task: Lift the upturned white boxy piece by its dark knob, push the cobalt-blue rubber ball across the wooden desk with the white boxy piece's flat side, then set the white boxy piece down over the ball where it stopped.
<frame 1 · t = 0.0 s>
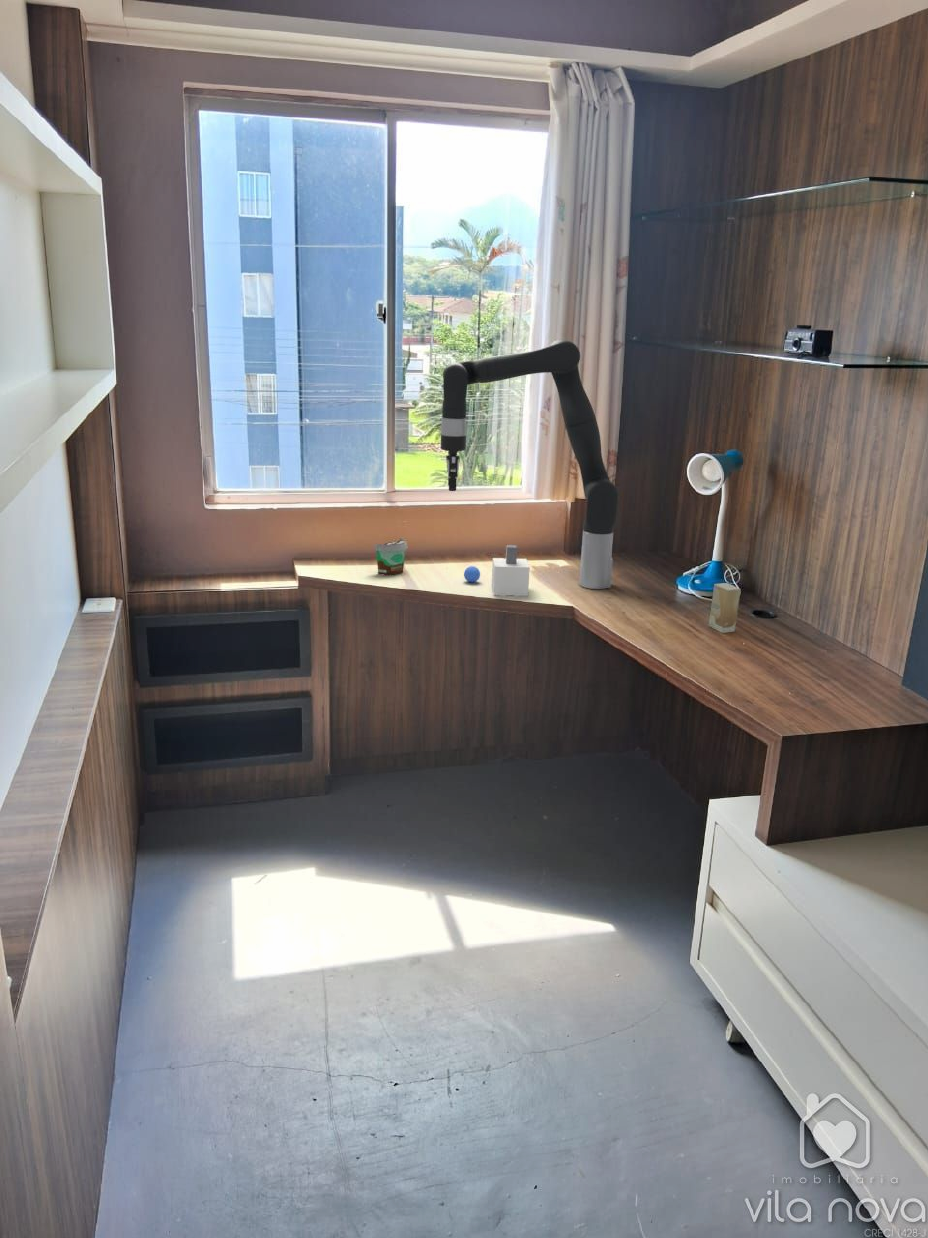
hand: (452, 488, 283), 29 cm above the table, tool pointing down, fingers open, 8 cm apart
food container: (395, 573, 301), on the table
white boxy piece: (509, 590, 285), on the table
ball: (472, 574, 293), on the table
skincare box: (721, 630, 256), on the table
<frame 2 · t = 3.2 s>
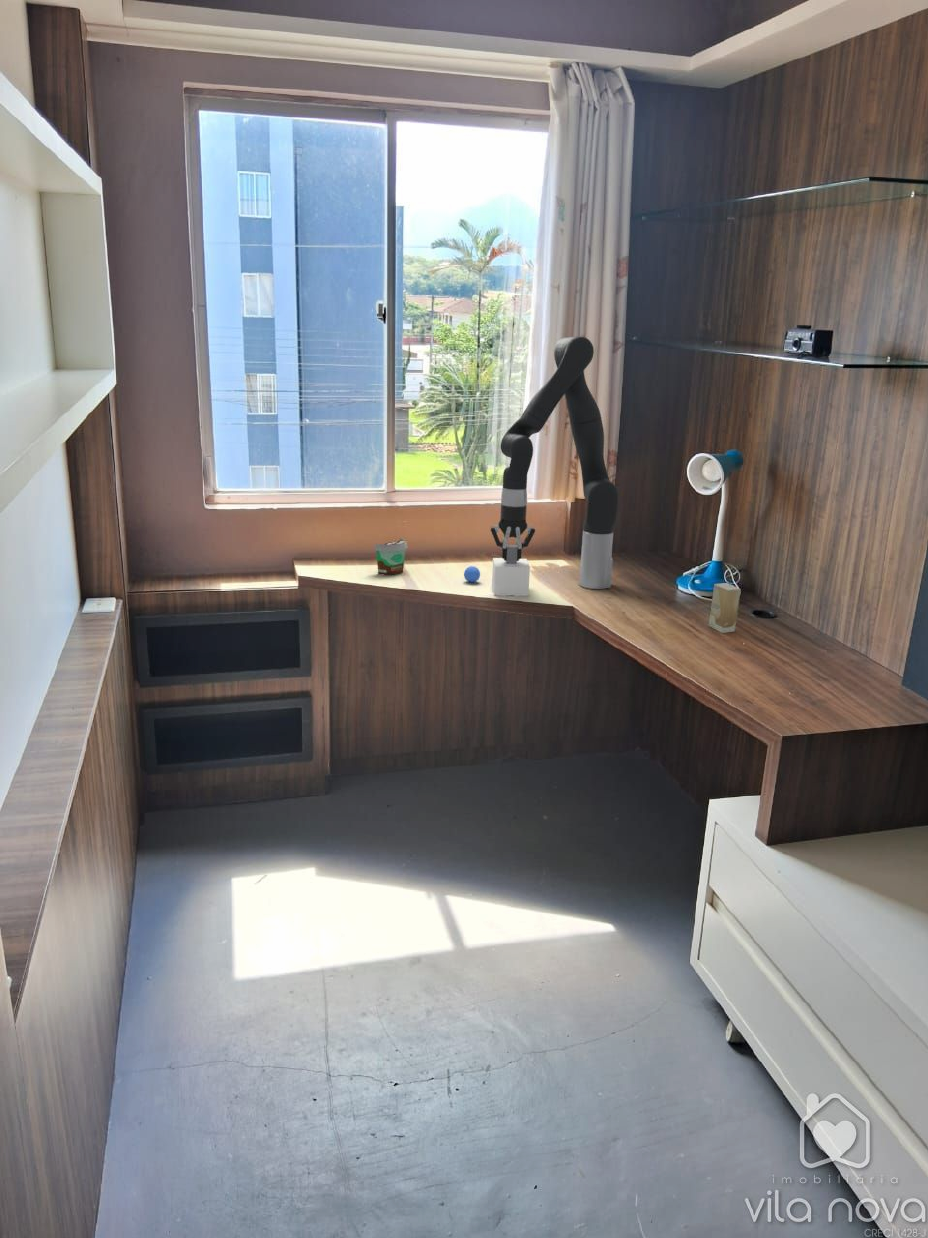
hand: (511, 559, 282), 10 cm above the table, tool pointing down, fingers closed on white boxy piece, 3 cm apart
white boxy piece: (509, 590, 285), on the table, touching gripper
everything else where it was.
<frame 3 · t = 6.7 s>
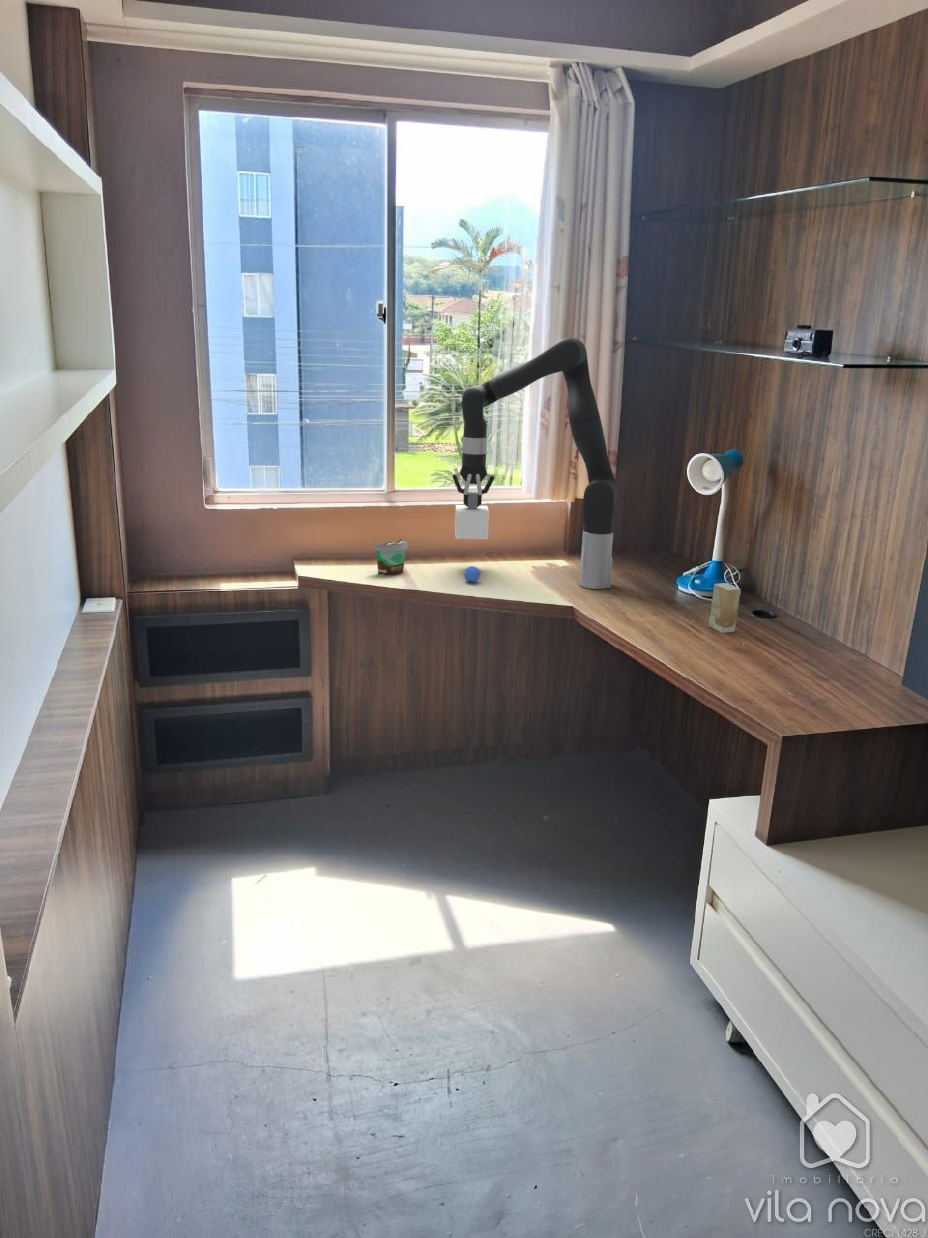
hand: (472, 505, 301), 21 cm above the table, tool pointing down, fingers closed on white boxy piece, 3 cm apart
white boxy piece: (471, 535, 304), point 11 cm above the table, touching gripper
everything else where it was.
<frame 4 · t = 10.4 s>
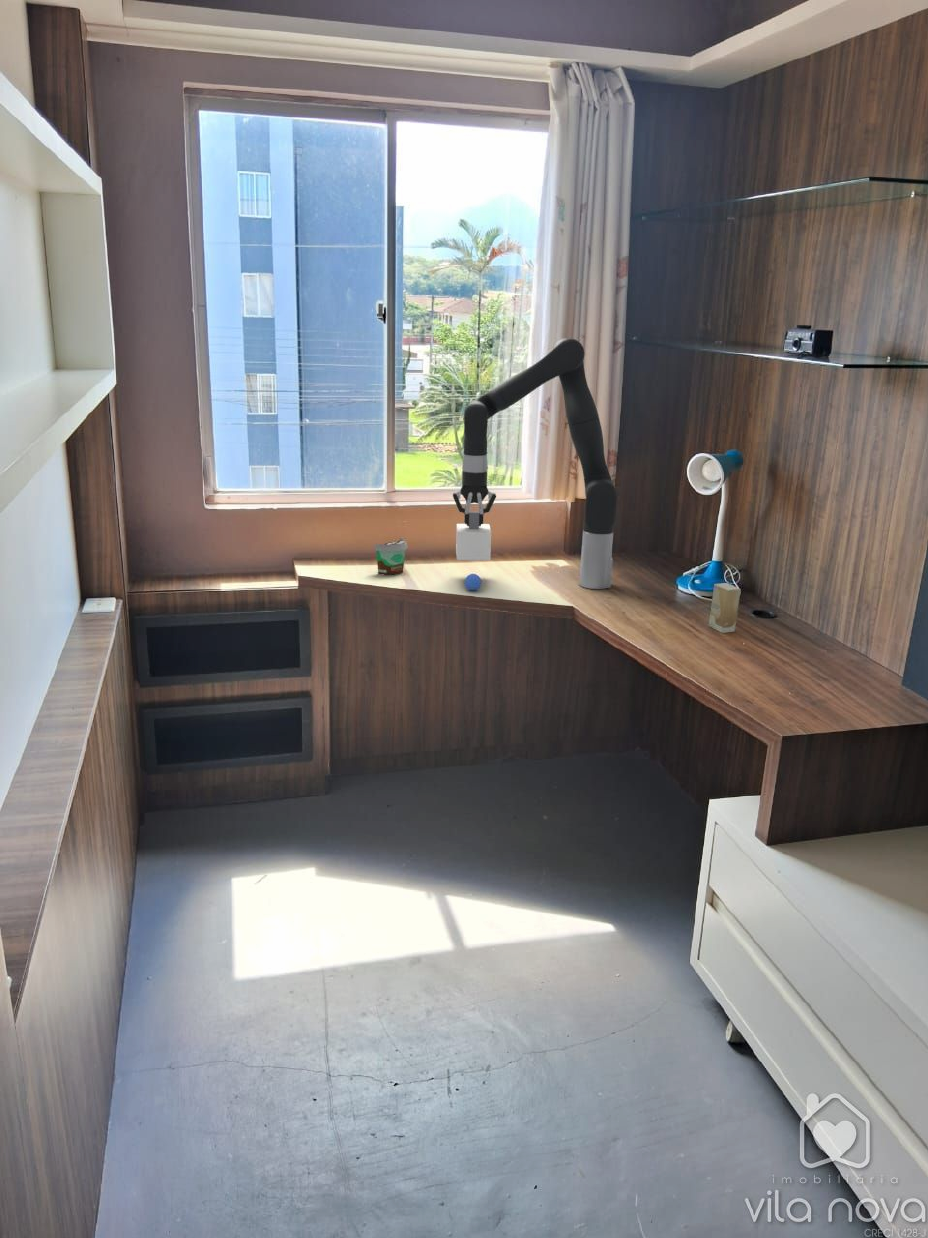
hand: (473, 525, 290), 17 cm above the table, tool pointing down, fingers closed on white boxy piece, 3 cm apart
white boxy piece: (472, 555, 293), point 8 cm above the table, touching gripper
ball: (472, 582, 284), on the table
everything else where it was.
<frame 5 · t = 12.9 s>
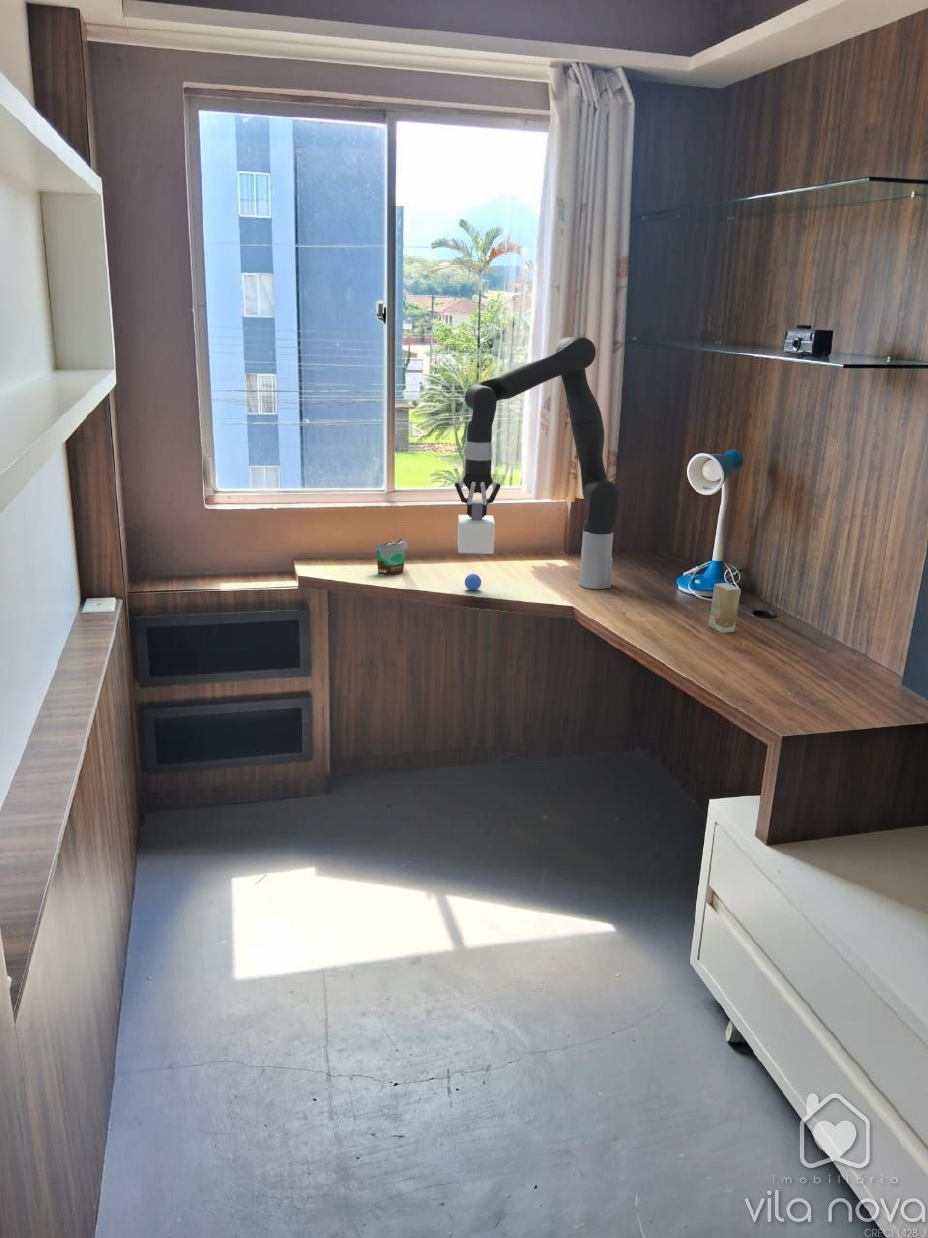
hand: (476, 516, 275), 23 cm above the table, tool pointing down, fingers closed on white boxy piece, 3 cm apart
white boxy piece: (475, 548, 278), point 13 cm above the table, touching gripper
everything else where it was.
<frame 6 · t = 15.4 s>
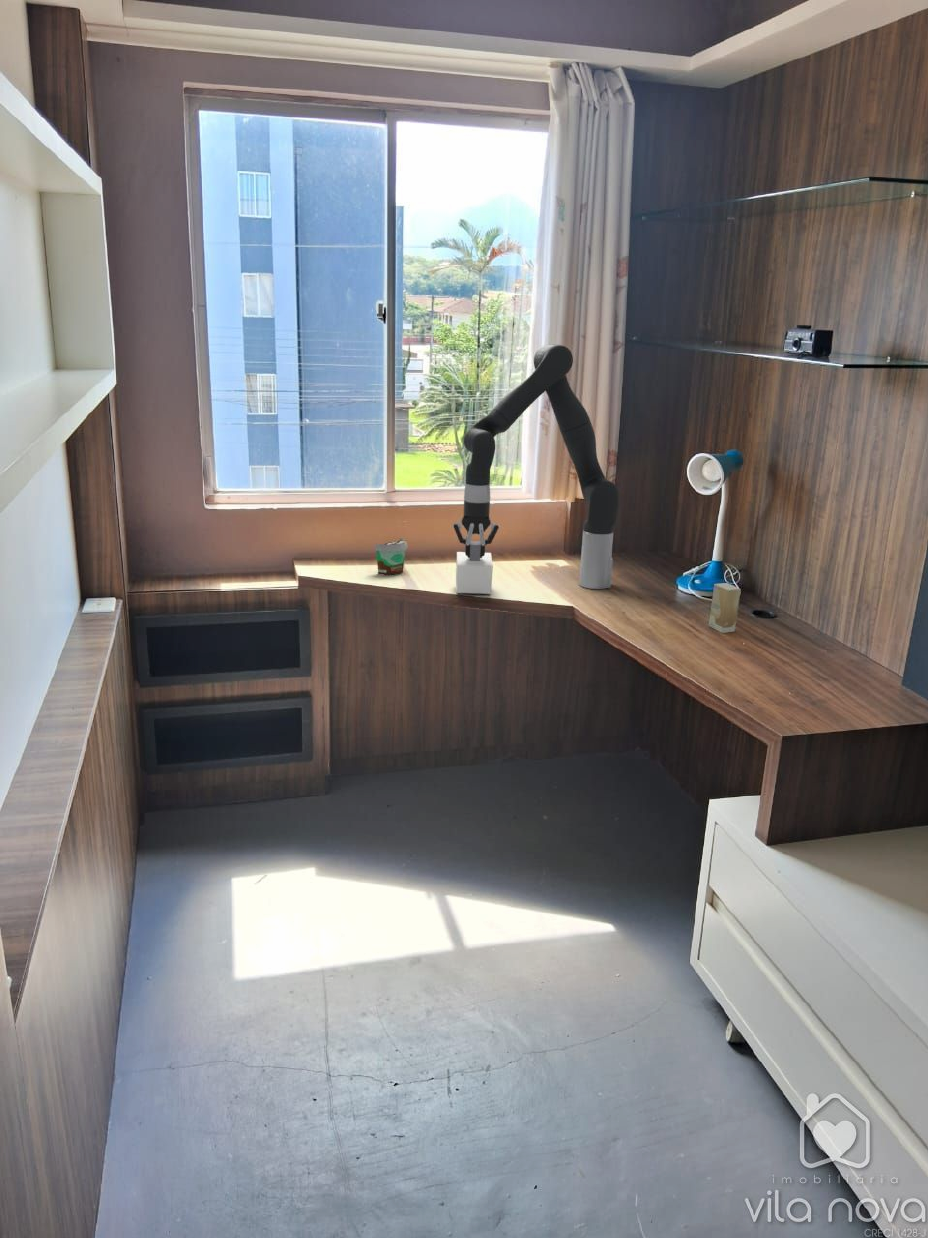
hand: (474, 557, 279), 11 cm above the table, tool pointing down, fingers closed on white boxy piece, 3 cm apart
white boxy piece: (473, 586, 284), point 2 cm above the table, tilted 9°, touching gripper
when the fingers open (10 cm above the table, at t = 15.8 s): white boxy piece stays where it is, on the table.
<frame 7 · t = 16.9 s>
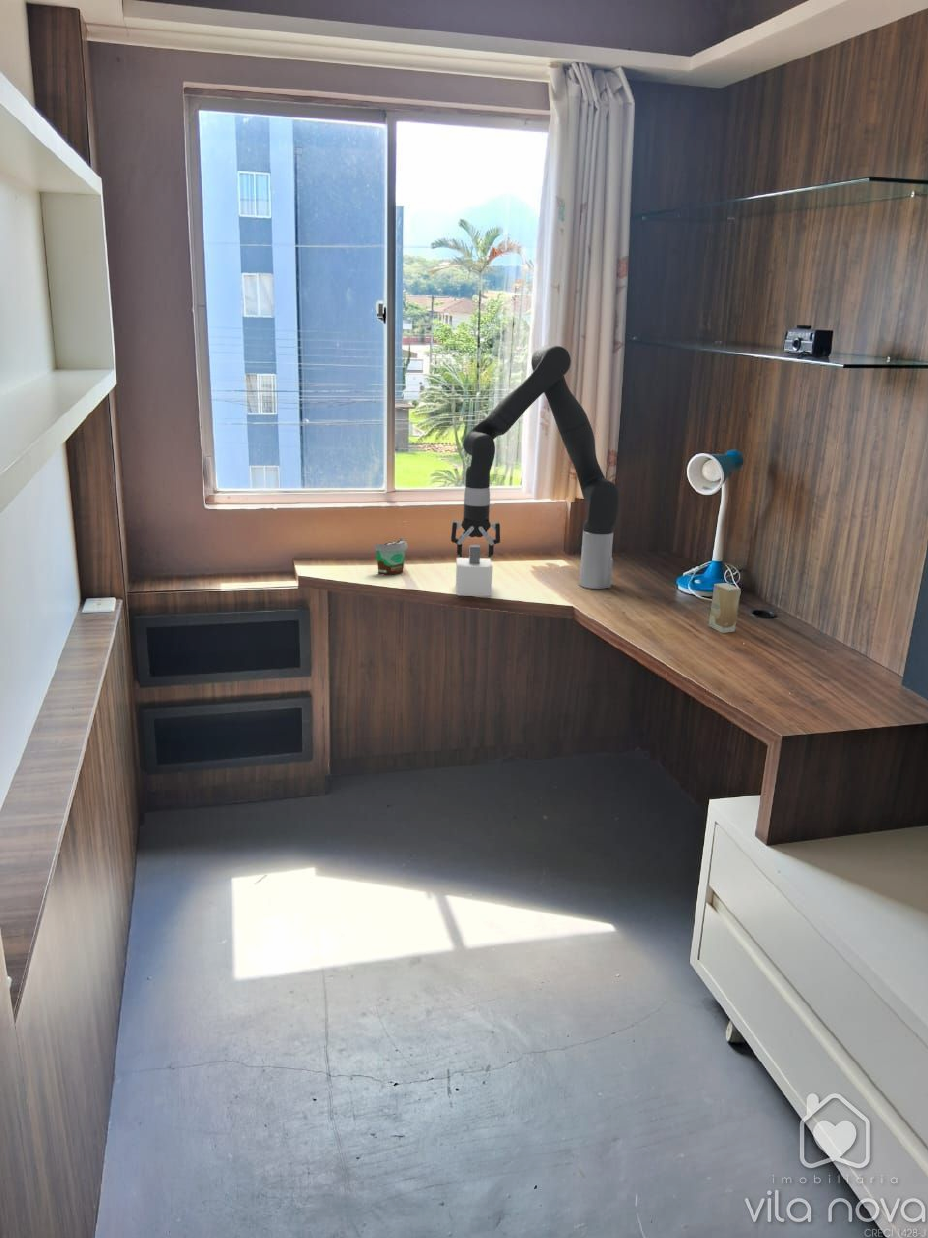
hand: (474, 556, 279), 11 cm above the table, tool pointing down, fingers open, 8 cm apart
white boxy piece: (473, 590, 284), on the table
everything else where it was.
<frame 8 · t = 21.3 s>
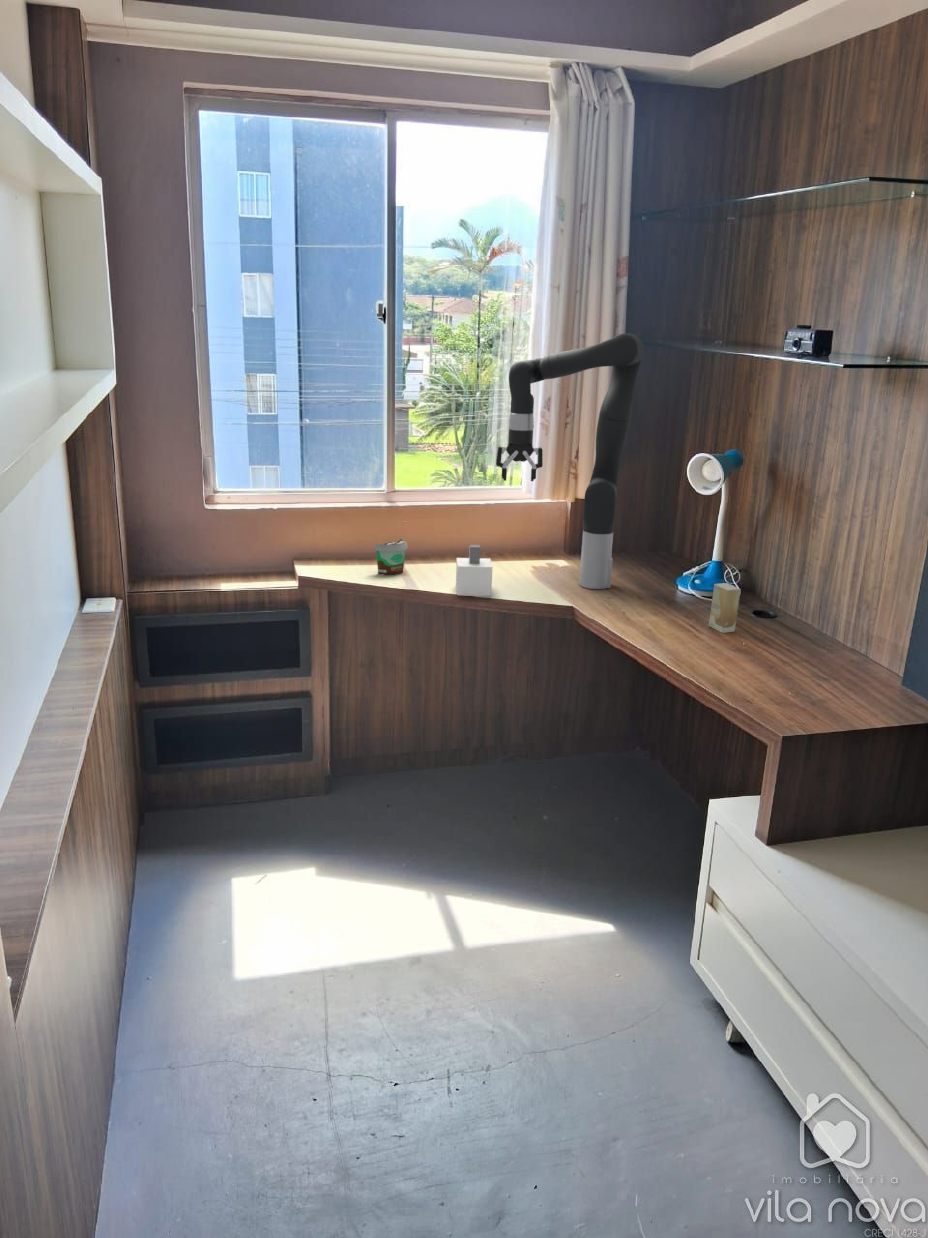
hand: (518, 480, 295), 30 cm above the table, tool pointing down, fingers open, 8 cm apart
nothing on the table moved.
at the end: ball 1.7 cm from the white boxy piece (horizontally); white boxy piece on the table; ball moved 8.0 cm from its start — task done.
